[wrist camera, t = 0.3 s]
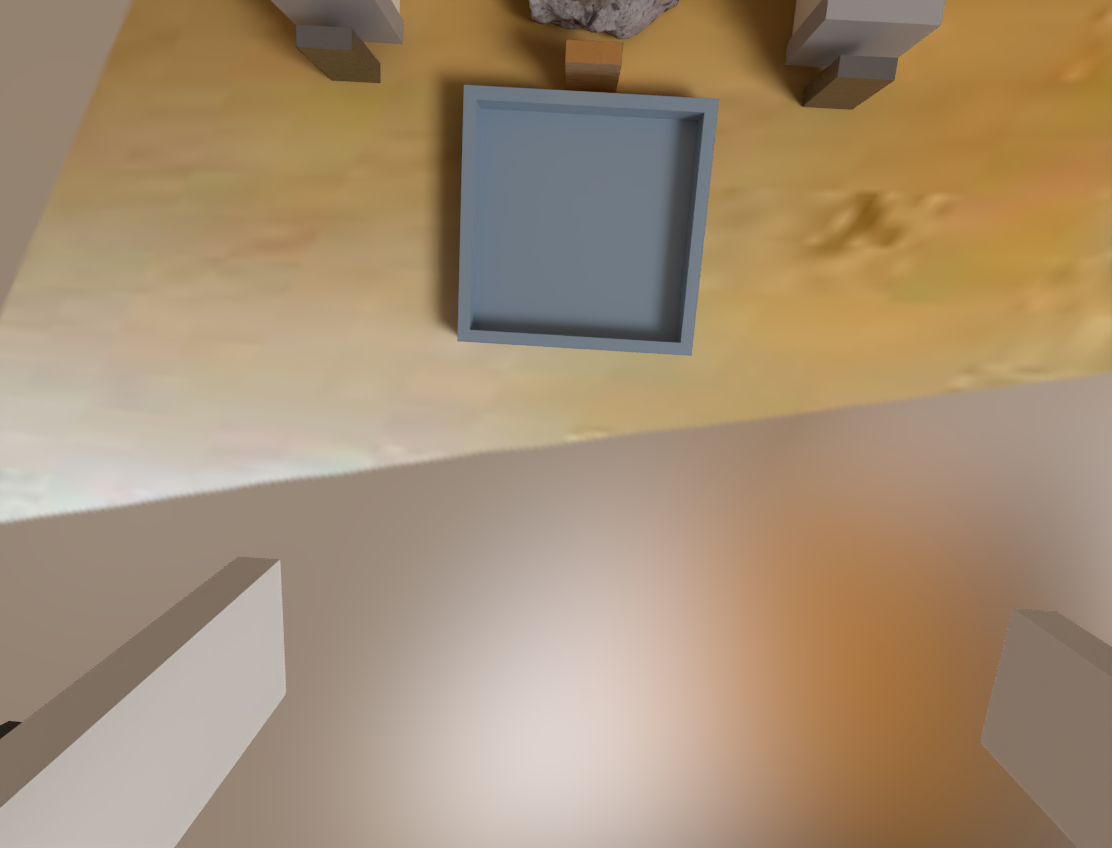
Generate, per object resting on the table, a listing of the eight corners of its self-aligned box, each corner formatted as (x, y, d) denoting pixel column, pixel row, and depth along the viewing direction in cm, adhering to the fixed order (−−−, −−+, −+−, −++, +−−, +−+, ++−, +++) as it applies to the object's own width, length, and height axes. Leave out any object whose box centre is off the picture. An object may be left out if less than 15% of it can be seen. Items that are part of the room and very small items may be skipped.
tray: (470, 97, 33) (463, 84, 31) (710, 111, 33) (718, 99, 31) (463, 339, 36) (457, 341, 34) (684, 352, 36) (691, 355, 34)
